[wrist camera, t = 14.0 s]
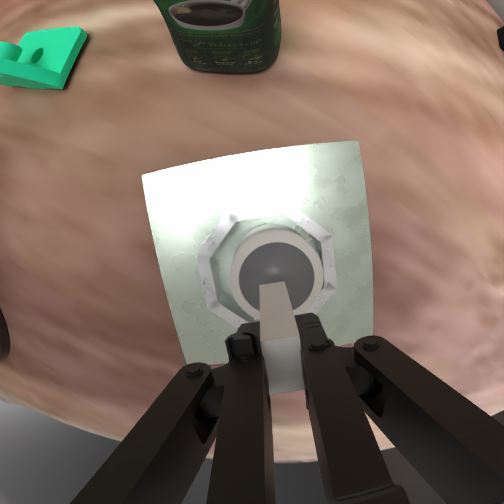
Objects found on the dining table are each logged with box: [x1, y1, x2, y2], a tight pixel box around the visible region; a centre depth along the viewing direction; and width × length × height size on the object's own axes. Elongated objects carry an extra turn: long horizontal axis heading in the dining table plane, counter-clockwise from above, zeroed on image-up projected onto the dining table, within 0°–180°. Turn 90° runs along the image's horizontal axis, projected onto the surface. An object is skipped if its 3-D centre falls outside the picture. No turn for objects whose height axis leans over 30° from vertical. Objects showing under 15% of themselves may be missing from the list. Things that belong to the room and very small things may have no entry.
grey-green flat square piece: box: [142, 140, 373, 365], centre depth 25 cm, size 20×20×4 cm
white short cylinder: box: [229, 224, 323, 320], centre depth 24 cm, size 7×7×5 cm
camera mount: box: [0, 27, 87, 89], centre depth 17 cm, size 12×8×10 cm, turn 70°
